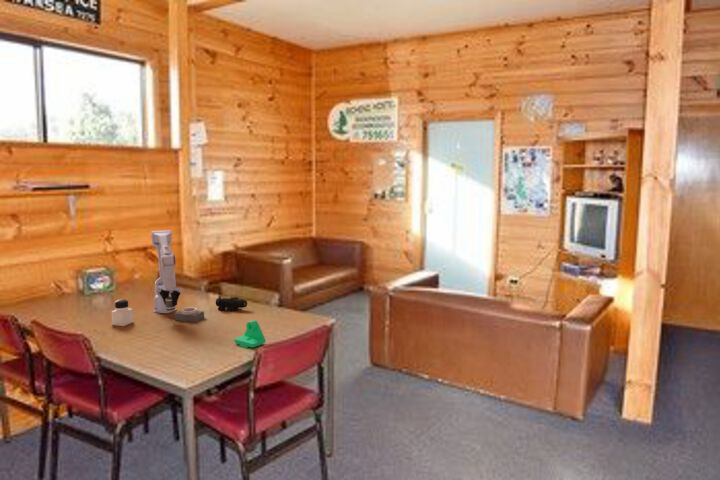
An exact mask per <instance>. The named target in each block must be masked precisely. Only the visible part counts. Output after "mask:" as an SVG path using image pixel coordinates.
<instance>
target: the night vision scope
mask: <svg viewBox="0 0 720 480" xmlns="http://www.w3.org/2000/svg"><path fill="white" fill-rule="evenodd" d="M215 306H216V307H217V309H218V311H221V310H222V311H224V312H225V311H227V312H235V311H236V310H237V309H242V308H246V307H248V301H247V300H245V299H243V298H239V297H236V296H234V297H231V296H230V298H229V297H228V298H227V297H226V298H225V297H222V296H221V295H218V298H216V299H215Z"/></svg>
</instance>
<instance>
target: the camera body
mask: <svg viewBox="0 0 720 480" xmlns="http://www.w3.org/2000/svg"><path fill="white" fill-rule="evenodd" d="M202 319H205V311H203V310H198V308H197V307H192V306H191V307H184V308H182V309H180V311H178V312H175V313H174V321H177V322H178V321H179V322H189V323H197V322H198V321H201V320H202Z"/></svg>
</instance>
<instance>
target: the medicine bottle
mask: <svg viewBox="0 0 720 480" xmlns="http://www.w3.org/2000/svg"><path fill="white" fill-rule="evenodd" d="M132 323H134V309H133V308H130V307H129V301H128V300H127V299H117V300H116V301H114V310H111V325H112V326H118V327H126V326H127V325H131V324H132Z"/></svg>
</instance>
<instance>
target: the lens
mask: <svg viewBox="0 0 720 480" xmlns="http://www.w3.org/2000/svg"><path fill="white" fill-rule="evenodd" d="M165 300H166V310H169V311H170V310H175V309H176V306H173V303H172V297H166V298H165ZM175 311H176V310H175Z"/></svg>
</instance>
